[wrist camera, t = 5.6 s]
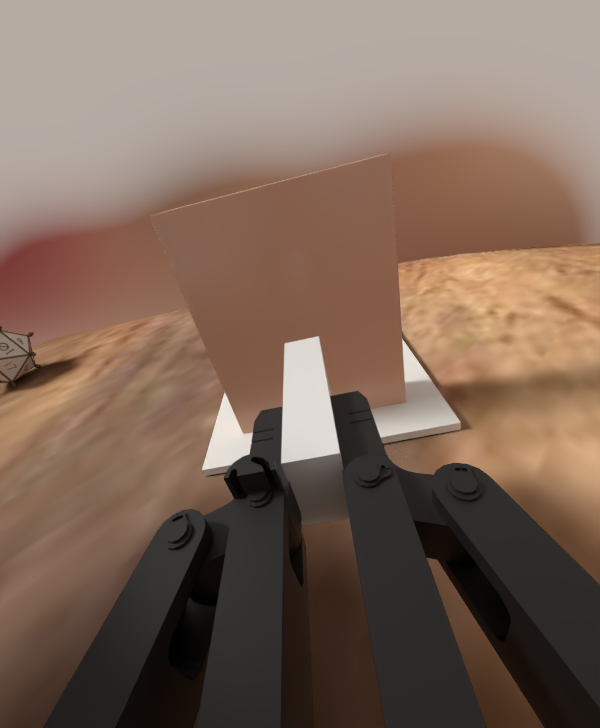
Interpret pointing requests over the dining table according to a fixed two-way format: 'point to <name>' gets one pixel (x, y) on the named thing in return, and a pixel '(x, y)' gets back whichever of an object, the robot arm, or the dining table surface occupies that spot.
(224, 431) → the rubber mat
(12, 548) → the dining table surface
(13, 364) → the game die
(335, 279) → the terracotta tile
